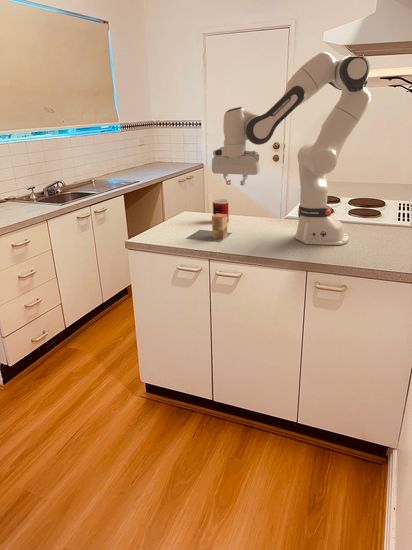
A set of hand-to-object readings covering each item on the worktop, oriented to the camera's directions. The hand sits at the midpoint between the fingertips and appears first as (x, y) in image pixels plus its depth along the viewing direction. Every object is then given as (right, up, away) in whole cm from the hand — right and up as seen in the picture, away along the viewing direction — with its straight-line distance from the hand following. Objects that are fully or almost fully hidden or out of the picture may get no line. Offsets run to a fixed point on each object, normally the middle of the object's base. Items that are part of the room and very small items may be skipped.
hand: (235, 184), depth 172 cm
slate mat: (-11, -20, +15) cm, 28 cm away
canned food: (-5, -11, +36) cm, 38 cm away
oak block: (-6, -21, +13) cm, 25 cm away
